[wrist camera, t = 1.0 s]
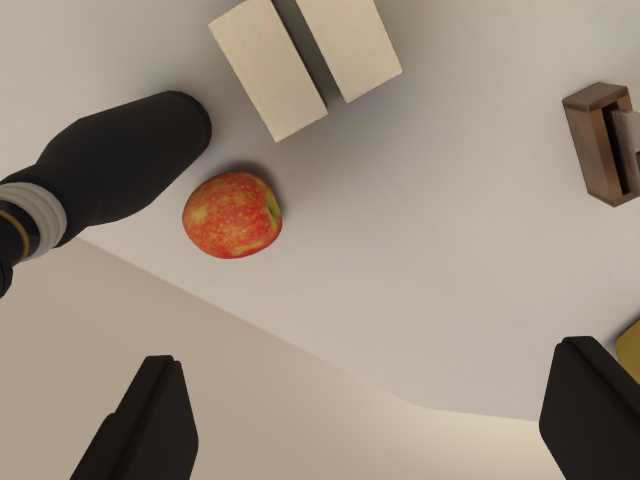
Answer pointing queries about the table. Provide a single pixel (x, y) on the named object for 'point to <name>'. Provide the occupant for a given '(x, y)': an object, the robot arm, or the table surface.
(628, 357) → the flower pot
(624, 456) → the robot arm
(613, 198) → the knife block
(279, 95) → the cake
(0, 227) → the wine bottle
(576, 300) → the table surface
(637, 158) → the knife
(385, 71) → the cake slice
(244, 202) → the apple
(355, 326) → the table surface
